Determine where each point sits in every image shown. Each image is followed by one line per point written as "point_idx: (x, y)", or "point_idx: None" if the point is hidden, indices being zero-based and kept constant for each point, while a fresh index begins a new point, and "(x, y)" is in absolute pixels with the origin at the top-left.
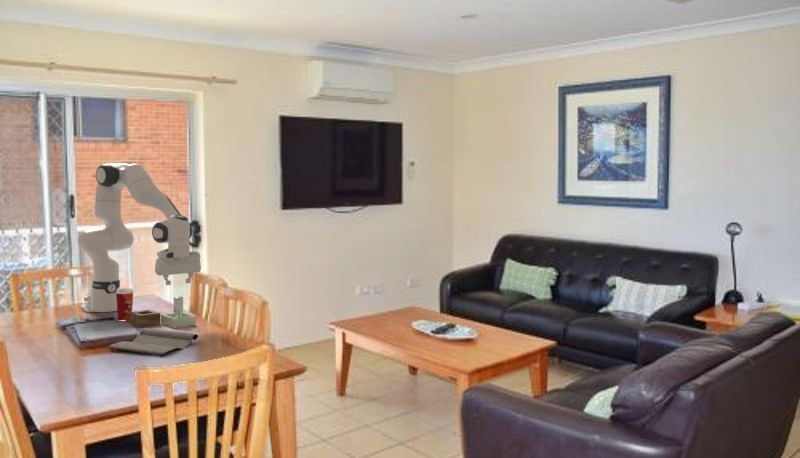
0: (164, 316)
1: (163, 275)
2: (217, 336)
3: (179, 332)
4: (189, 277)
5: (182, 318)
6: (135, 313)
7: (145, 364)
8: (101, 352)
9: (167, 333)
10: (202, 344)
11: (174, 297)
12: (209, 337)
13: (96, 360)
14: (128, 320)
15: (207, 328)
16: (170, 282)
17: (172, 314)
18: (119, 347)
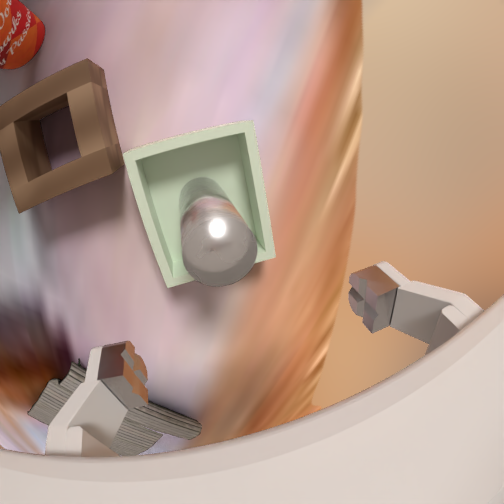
0: (134, 191)
1: (51, 448)
2: (260, 384)
3: (160, 425)
4: (409, 323)
5: None
6: (5, 149)
7: None
8: (19, 404)
9: (130, 419)
10: (204, 423)
11: (188, 252)
12: (238, 389)
13: (32, 429)
14: (25, 62)
15: (277, 303)
16: (144, 390)
17: (189, 144)
18: (47, 424)
